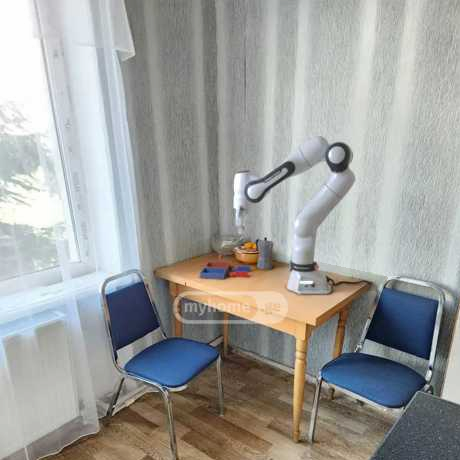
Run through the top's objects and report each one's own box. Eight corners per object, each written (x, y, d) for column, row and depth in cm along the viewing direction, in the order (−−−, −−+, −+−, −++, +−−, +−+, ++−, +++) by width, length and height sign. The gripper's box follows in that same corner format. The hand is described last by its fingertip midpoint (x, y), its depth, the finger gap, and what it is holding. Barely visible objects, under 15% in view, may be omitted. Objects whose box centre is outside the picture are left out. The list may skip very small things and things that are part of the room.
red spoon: (248, 275, 220) (248, 270, 219) (247, 277, 217) (247, 272, 216) (229, 274, 222) (229, 269, 221) (228, 276, 218) (228, 271, 217)
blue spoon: (250, 270, 228) (250, 265, 227) (249, 272, 225) (249, 267, 224) (232, 269, 230) (232, 264, 229) (231, 271, 227) (231, 266, 225)
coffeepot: (278, 268, 230) (279, 238, 223) (265, 271, 225) (266, 241, 218) (261, 262, 242) (262, 233, 234) (249, 264, 237) (249, 235, 229)
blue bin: (226, 273, 223) (226, 268, 222) (223, 279, 215) (223, 274, 214) (204, 272, 225) (204, 267, 224) (200, 277, 217) (200, 272, 216)
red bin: (230, 267, 233) (230, 262, 232) (227, 272, 225) (227, 267, 224) (208, 266, 235) (208, 261, 234) (204, 271, 227) (204, 266, 226)
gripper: (245, 208, 188) (244, 236, 194) (250, 201, 207) (249, 227, 212) (232, 208, 189) (232, 236, 195) (238, 200, 207) (238, 226, 213)
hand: (241, 231), depth 204 cm, fingers open, 8 cm apart
